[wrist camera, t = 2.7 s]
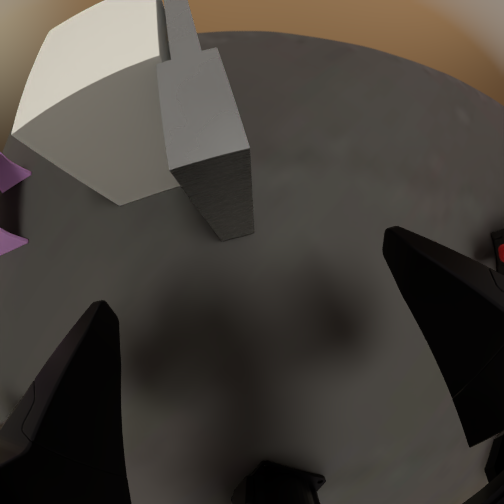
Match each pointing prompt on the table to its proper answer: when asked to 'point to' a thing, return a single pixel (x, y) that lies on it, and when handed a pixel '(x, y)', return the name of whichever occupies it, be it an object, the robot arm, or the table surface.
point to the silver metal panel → (204, 129)
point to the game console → (499, 249)
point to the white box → (102, 100)
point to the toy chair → (3, 178)
